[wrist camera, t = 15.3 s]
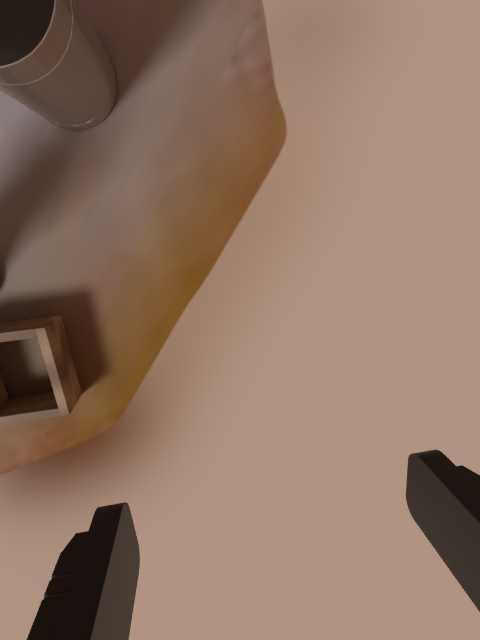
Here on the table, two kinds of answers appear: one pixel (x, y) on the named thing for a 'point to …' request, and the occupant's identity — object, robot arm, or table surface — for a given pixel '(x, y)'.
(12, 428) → the table surface
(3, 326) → the walnut holder
